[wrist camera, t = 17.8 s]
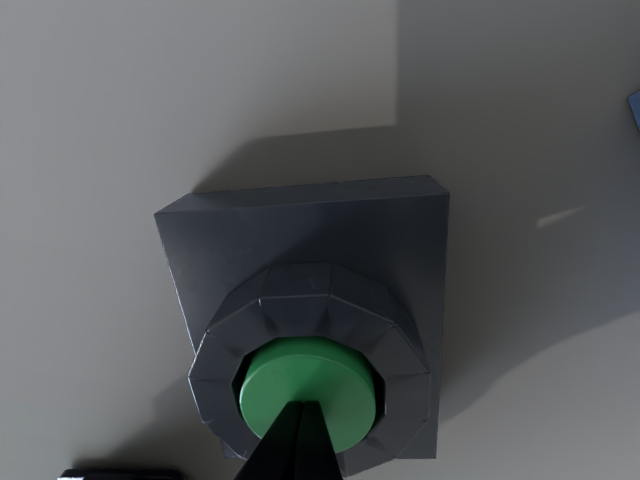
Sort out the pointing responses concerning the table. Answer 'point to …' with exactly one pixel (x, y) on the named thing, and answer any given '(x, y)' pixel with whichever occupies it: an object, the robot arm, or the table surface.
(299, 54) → the table surface
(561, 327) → the table surface
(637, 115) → the blue shallow square tray
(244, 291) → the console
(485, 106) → the table surface
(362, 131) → the table surface
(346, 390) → the button
